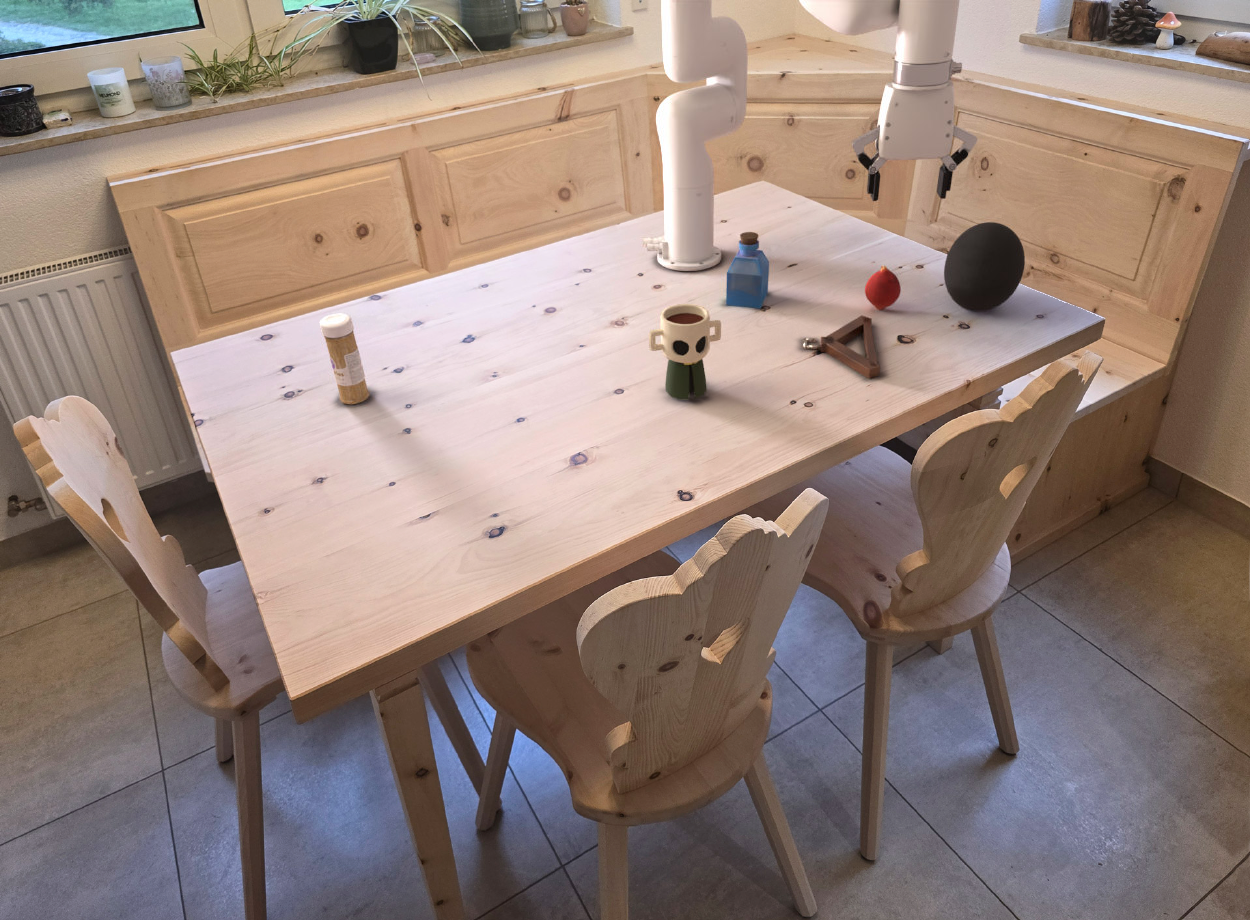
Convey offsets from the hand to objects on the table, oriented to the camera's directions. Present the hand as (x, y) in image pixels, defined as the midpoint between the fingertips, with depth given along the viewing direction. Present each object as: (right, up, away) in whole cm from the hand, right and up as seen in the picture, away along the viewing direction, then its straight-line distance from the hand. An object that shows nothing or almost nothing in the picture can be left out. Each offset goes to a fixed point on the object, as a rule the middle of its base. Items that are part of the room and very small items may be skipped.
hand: (907, 197), depth 132 cm
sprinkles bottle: (-84, -29, +7) cm, 89 cm away
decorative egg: (+18, -13, +21) cm, 31 cm away
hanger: (-7, -21, +12) cm, 25 cm away
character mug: (-33, -29, +3) cm, 44 cm away
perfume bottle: (-20, -10, +28) cm, 36 cm away
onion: (+2, -13, +23) cm, 26 cm away
